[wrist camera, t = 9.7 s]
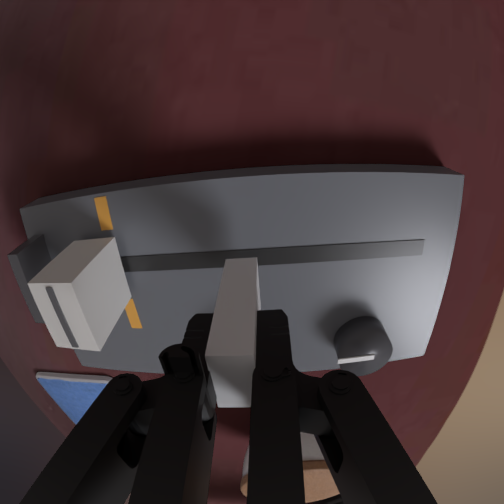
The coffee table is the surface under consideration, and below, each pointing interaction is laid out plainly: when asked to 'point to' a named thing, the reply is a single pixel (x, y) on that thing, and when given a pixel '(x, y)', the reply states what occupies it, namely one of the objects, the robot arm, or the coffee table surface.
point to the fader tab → (82, 293)
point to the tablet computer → (73, 391)
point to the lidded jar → (306, 471)
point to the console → (266, 255)
